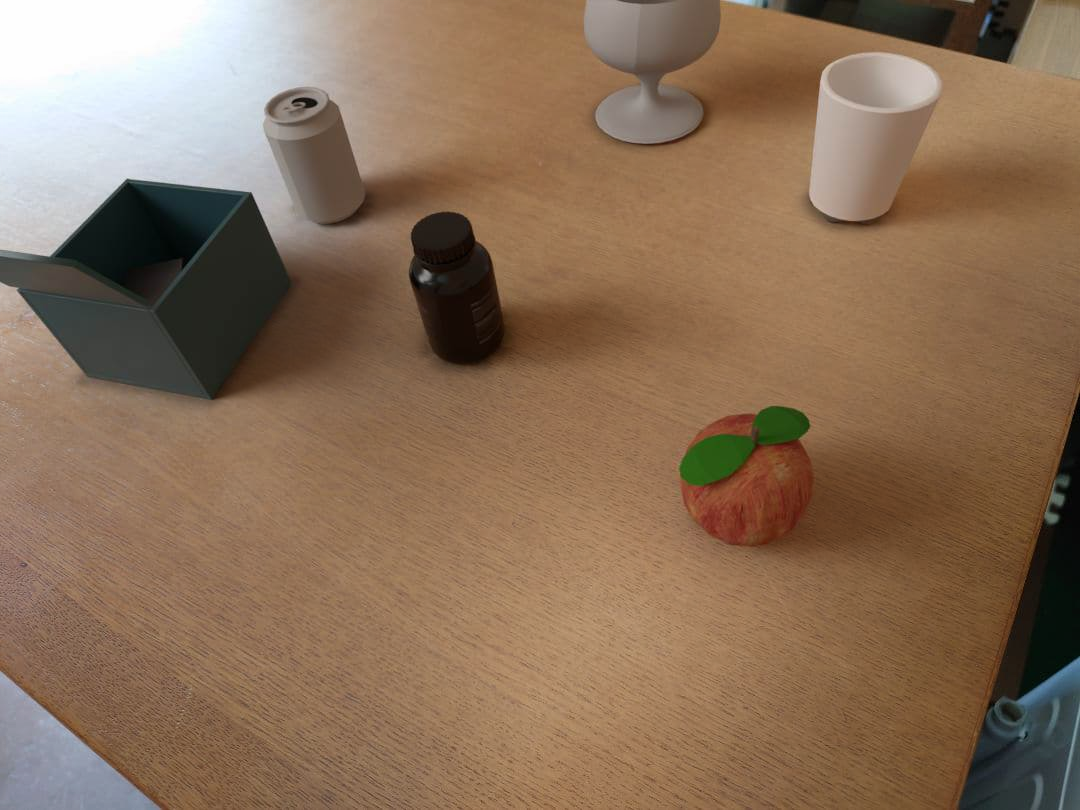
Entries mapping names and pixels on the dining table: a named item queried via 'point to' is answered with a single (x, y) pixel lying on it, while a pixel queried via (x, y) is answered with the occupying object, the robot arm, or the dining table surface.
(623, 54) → the chalice
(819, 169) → the cup
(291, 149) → the can
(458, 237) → the supplement bottle
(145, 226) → the carton
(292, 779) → the dining table surface
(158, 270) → the block
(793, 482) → the fruit
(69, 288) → the flap
